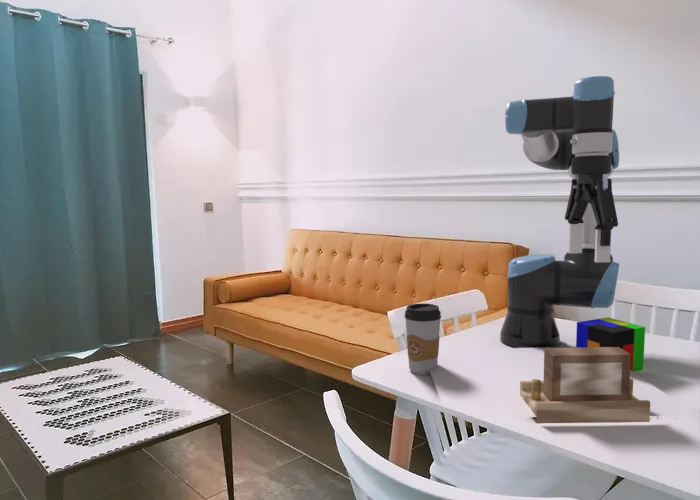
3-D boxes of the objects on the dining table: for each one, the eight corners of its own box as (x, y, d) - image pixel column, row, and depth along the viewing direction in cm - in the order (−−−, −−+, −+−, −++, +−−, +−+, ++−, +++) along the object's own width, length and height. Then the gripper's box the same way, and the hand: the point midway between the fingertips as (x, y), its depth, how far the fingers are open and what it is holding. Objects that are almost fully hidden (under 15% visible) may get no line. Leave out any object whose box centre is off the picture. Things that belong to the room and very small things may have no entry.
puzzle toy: (575, 363, 127) (576, 322, 126) (606, 357, 131) (608, 317, 130) (611, 377, 118) (612, 332, 117) (643, 370, 122) (645, 327, 121)
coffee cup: (397, 371, 124) (396, 307, 122) (418, 362, 130) (418, 301, 128) (427, 379, 119) (427, 313, 117) (448, 369, 125) (448, 306, 123)
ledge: (519, 400, 106) (520, 371, 105) (622, 399, 106) (623, 370, 105) (536, 423, 96) (537, 391, 96) (649, 421, 96) (651, 389, 95)
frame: (551, 403, 99) (553, 355, 98) (543, 393, 103) (544, 348, 102) (628, 402, 98) (630, 354, 97) (616, 392, 103) (618, 346, 102)
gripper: (551, 158, 123) (549, 250, 126) (599, 152, 98) (595, 266, 101) (584, 157, 123) (581, 249, 126) (641, 151, 98) (635, 266, 101)
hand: (587, 257), depth 113 cm, fingers open, 13 cm apart
